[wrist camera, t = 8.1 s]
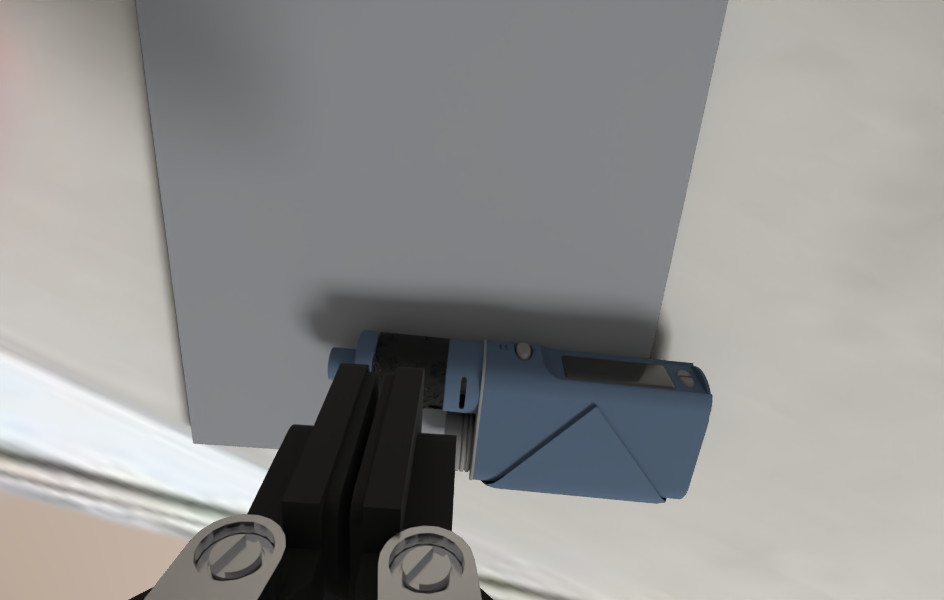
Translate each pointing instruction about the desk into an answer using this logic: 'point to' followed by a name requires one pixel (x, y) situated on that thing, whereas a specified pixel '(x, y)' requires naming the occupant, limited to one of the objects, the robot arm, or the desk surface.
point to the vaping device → (554, 413)
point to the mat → (413, 181)
